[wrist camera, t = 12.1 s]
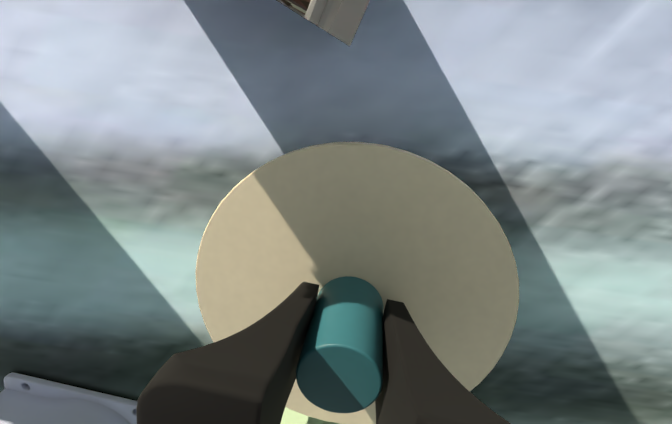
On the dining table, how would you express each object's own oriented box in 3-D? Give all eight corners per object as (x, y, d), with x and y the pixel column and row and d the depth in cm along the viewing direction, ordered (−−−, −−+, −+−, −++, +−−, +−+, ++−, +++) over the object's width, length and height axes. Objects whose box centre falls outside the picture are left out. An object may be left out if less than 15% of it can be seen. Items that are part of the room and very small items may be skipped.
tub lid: (200, 373, 19) (138, 476, 14) (214, 109, 14) (129, 129, 10) (460, 431, 18) (487, 560, 13) (559, 174, 14) (653, 230, 9)
